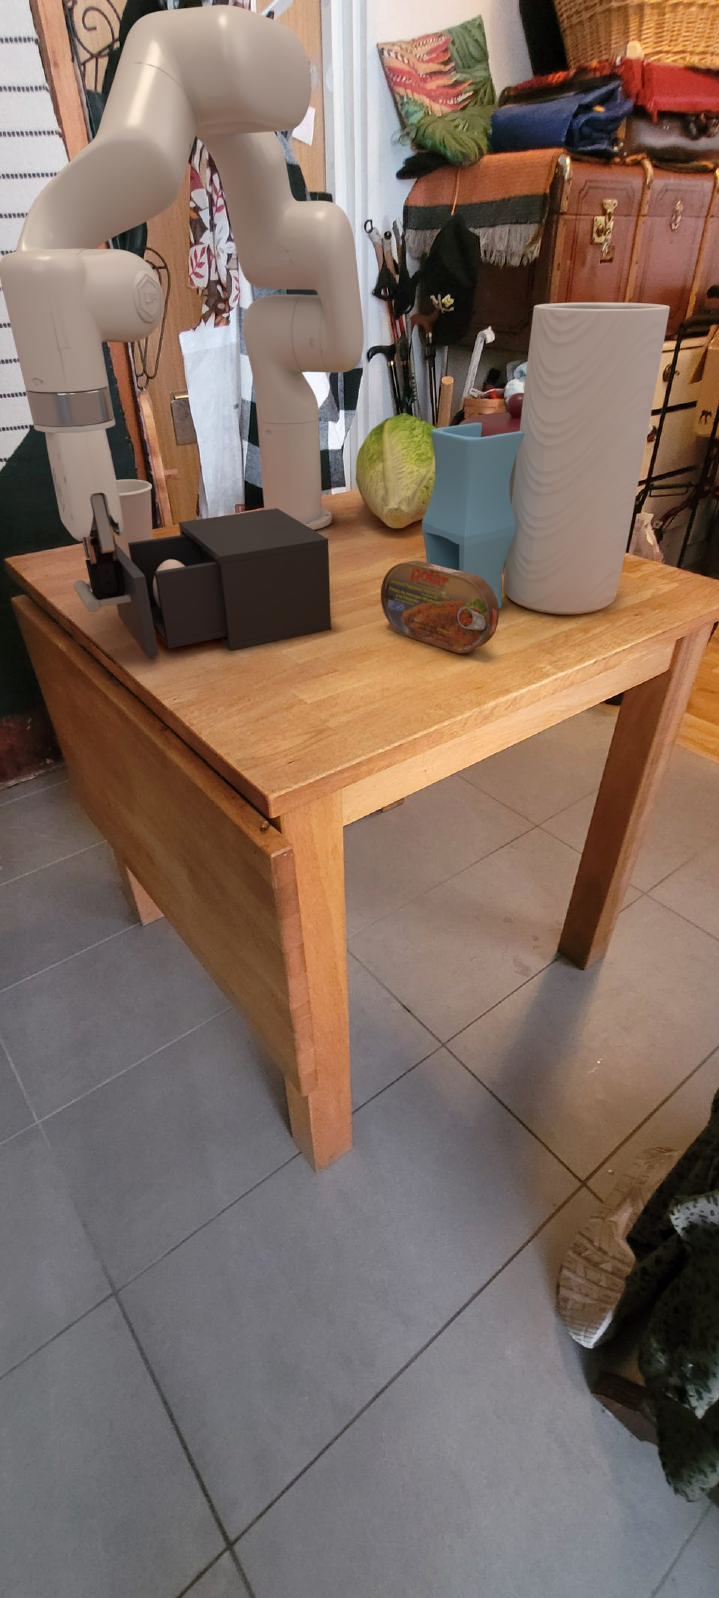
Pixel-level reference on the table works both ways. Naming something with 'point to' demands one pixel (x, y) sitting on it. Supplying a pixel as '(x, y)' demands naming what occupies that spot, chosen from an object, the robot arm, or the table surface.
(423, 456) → the lettuce
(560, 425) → the vase
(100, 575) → the robot arm
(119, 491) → the dixie cup
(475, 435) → the vase
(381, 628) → the table surface
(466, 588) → the tin
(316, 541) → the cabinet
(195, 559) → the drawer
